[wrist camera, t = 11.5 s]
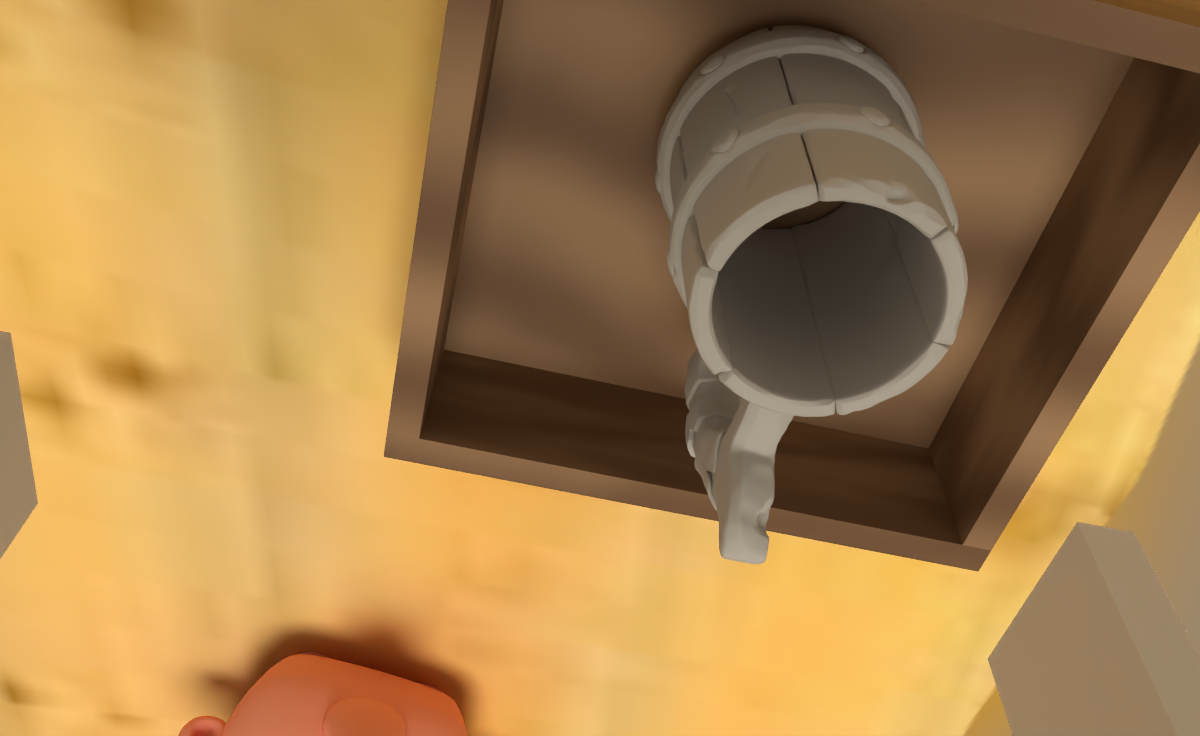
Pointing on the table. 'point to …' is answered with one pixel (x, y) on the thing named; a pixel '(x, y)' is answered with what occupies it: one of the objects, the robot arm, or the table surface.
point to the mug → (799, 252)
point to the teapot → (334, 704)
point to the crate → (642, 229)
